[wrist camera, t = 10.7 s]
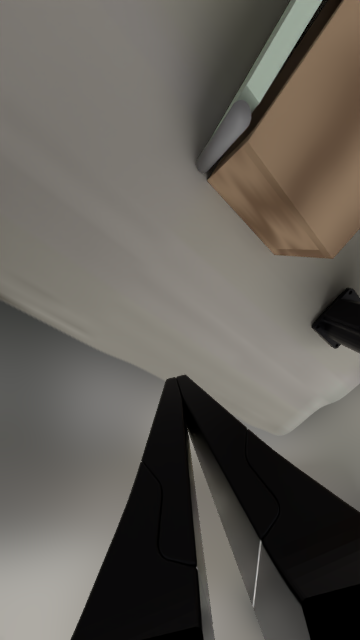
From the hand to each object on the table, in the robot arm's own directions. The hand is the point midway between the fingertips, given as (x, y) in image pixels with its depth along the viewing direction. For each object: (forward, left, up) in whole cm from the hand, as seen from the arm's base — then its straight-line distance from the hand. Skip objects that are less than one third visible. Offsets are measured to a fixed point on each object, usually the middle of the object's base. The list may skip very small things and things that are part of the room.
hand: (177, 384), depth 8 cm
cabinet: (-3, -19, -12) cm, 23 cm away
